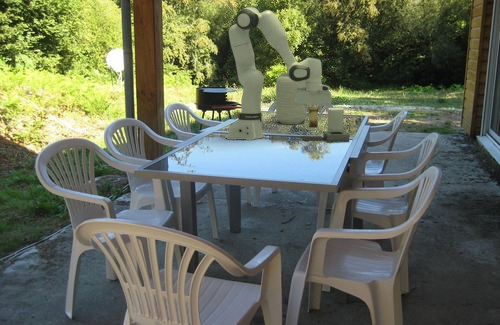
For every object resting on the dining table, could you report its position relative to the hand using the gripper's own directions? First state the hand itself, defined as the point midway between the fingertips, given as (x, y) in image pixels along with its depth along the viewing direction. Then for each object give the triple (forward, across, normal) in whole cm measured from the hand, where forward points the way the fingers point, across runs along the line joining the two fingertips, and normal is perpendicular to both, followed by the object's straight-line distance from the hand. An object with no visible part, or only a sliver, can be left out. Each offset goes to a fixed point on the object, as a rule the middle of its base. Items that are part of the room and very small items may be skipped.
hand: (313, 112), depth 276 cm
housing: (+15, +12, -6) cm, 20 cm away
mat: (+15, 0, 0) cm, 15 cm away
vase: (+15, -5, +60) cm, 62 cm away
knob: (+8, 0, 0) cm, 8 cm away
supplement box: (+15, +16, +15) cm, 27 cm away
